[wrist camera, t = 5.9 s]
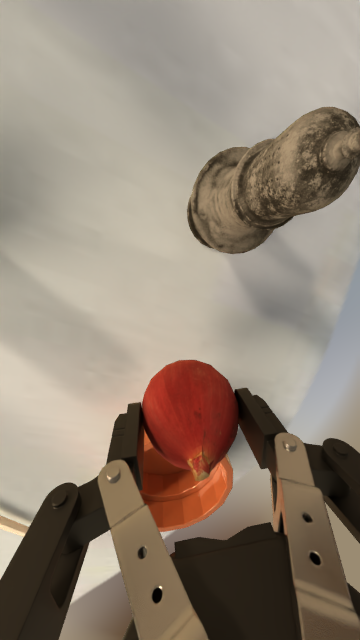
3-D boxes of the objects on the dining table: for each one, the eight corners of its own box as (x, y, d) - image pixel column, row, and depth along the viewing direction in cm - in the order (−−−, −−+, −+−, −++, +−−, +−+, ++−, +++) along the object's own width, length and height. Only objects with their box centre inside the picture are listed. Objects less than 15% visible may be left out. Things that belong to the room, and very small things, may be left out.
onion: (230, 355, 17) (295, 444, 9) (198, 412, 18) (232, 529, 11) (161, 329, 15) (172, 410, 8) (132, 393, 17) (118, 514, 9)
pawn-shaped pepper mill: (167, 209, 16) (202, 113, 5) (227, 148, 15) (443, -141, 4) (215, 268, 18) (324, 301, 6) (271, 216, 17) (503, 154, 6)
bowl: (104, 405, 21) (90, 451, 16) (216, 390, 22) (234, 429, 17) (121, 484, 24) (114, 541, 20) (217, 469, 25) (231, 519, 21)
